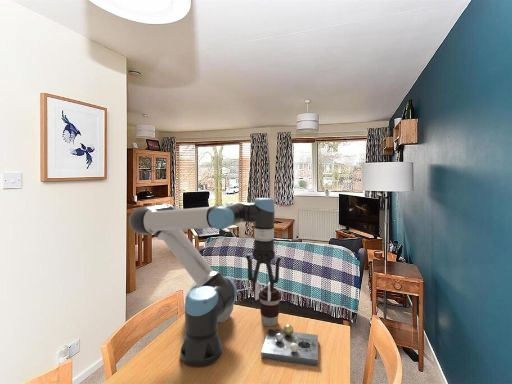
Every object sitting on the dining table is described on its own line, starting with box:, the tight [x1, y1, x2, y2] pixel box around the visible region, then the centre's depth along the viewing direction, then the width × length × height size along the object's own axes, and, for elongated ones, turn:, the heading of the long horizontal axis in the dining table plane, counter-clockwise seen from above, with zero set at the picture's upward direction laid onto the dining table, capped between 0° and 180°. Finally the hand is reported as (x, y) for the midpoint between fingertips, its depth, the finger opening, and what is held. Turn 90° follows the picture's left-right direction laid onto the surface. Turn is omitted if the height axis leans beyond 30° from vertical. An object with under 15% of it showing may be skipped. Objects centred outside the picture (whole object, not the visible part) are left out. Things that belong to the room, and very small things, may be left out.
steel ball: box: [275, 333, 283, 342], centre depth 113 cm, size 3×3×3 cm
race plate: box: [260, 328, 319, 368], centre depth 112 cm, size 20×16×2 cm
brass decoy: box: [282, 324, 294, 336], centre depth 118 cm, size 4×4×4 cm
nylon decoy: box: [290, 343, 298, 352], centre depth 107 cm, size 3×3×3 cm
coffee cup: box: [258, 286, 282, 327], centre depth 131 cm, size 10×10×15 cm
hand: (263, 298), depth 113 cm, fingers open, 4 cm apart
